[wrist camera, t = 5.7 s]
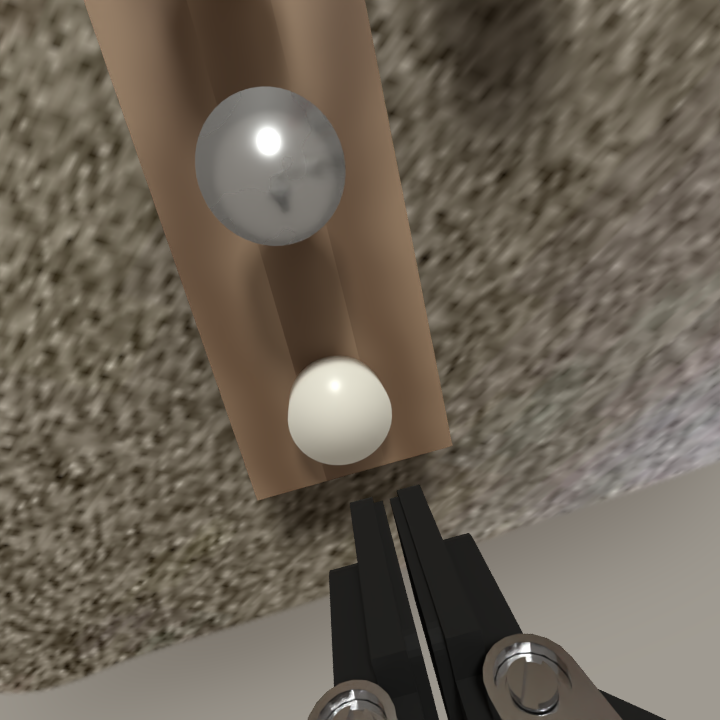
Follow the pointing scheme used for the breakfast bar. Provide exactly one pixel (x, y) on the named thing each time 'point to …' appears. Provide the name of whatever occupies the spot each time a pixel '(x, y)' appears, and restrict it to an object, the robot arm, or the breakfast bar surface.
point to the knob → (338, 411)
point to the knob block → (288, 262)
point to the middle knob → (270, 166)
